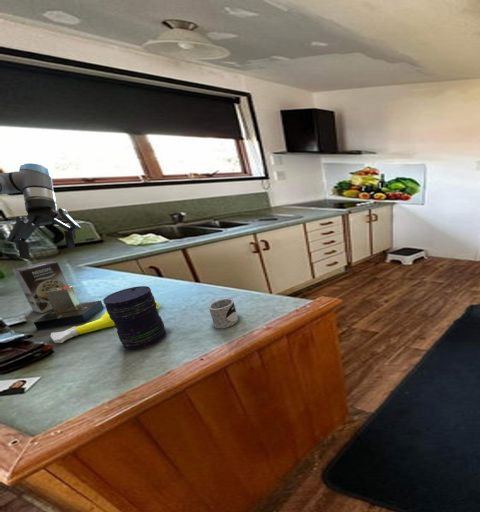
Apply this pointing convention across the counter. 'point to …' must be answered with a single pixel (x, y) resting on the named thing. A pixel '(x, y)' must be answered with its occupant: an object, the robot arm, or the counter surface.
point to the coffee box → (40, 283)
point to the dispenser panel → (69, 316)
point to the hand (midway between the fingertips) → (48, 252)
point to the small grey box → (63, 299)
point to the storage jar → (135, 317)
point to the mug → (223, 313)
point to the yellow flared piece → (85, 328)
